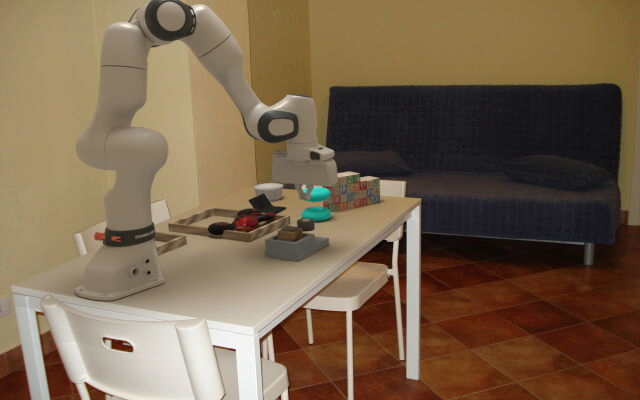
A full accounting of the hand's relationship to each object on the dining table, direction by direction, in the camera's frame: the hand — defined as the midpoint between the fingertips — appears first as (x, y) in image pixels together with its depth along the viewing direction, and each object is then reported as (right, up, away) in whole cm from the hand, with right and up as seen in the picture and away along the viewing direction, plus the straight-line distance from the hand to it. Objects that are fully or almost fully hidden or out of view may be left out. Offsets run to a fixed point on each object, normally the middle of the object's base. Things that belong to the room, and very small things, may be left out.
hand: (304, 199), depth 187 cm
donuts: (+3, -7, +33) cm, 34 cm away
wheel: (0, -9, +2) cm, 9 cm away
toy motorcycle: (-19, -9, +23) cm, 32 cm away
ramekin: (-15, 0, +65) cm, 66 cm away
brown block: (-4, -13, -5) cm, 15 cm away
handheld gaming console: (-14, -5, +45) cm, 47 cm away
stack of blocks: (+16, -3, +49) cm, 51 cm away
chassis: (-2, -15, -1) cm, 15 cm away
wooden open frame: (-25, -9, +26) cm, 37 cm away
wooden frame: (-48, -14, +8) cm, 50 cm away
